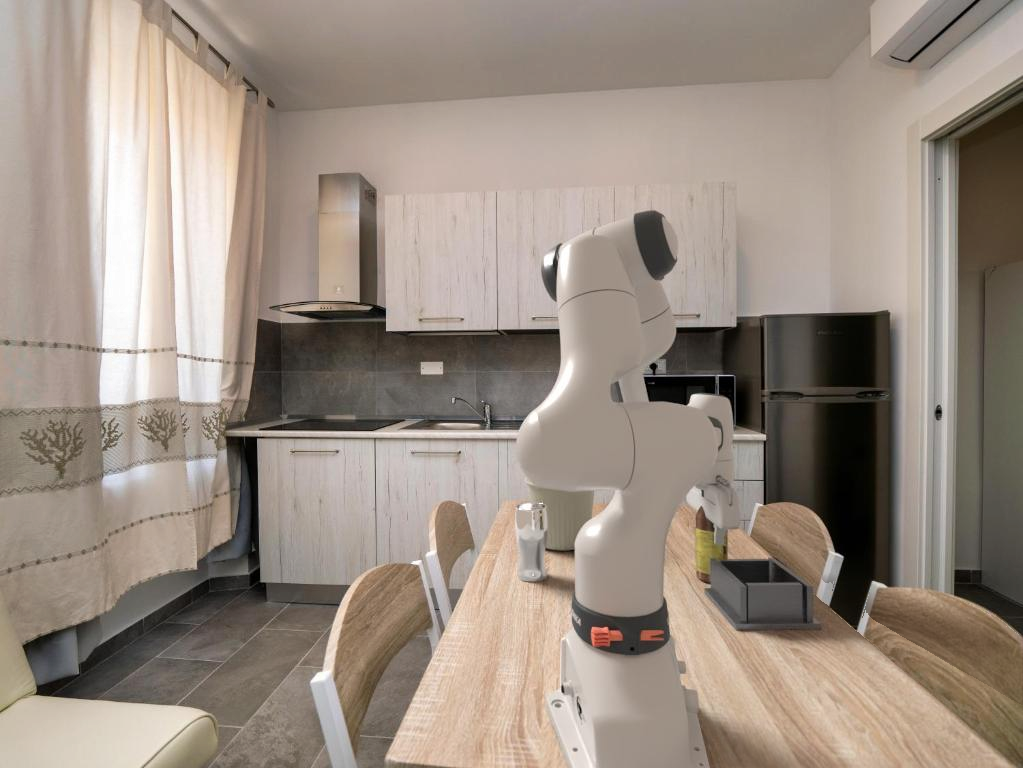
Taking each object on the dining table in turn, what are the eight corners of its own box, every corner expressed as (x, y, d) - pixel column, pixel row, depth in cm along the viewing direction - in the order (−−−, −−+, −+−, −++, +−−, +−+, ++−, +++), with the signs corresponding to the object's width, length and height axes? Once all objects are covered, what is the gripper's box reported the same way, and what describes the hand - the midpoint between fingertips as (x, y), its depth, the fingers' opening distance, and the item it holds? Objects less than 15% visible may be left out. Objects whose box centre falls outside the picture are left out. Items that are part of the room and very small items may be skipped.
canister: (603, 557, 117) (602, 467, 117) (526, 557, 118) (524, 467, 117) (592, 532, 135) (591, 454, 135) (525, 533, 136) (524, 455, 135)
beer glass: (555, 575, 107) (554, 505, 106) (534, 586, 102) (533, 512, 101) (530, 567, 111) (529, 500, 111) (509, 577, 106) (507, 506, 106)
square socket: (821, 629, 83) (820, 587, 83) (735, 630, 83) (735, 588, 83) (777, 592, 97) (777, 556, 97) (704, 593, 97) (704, 557, 97)
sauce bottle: (730, 586, 100) (731, 487, 100) (697, 583, 102) (698, 485, 101) (724, 573, 107) (724, 480, 106) (693, 571, 108) (693, 479, 108)
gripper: (749, 482, 93) (749, 556, 94) (707, 462, 114) (707, 523, 114) (714, 482, 93) (715, 556, 94) (679, 462, 114) (680, 523, 114)
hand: (710, 537), depth 104 cm, fingers open, 6 cm apart
